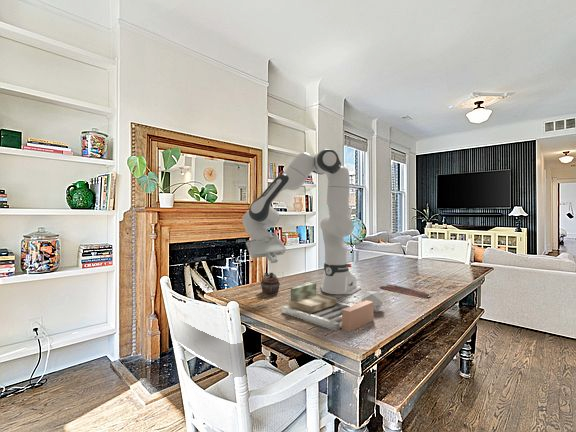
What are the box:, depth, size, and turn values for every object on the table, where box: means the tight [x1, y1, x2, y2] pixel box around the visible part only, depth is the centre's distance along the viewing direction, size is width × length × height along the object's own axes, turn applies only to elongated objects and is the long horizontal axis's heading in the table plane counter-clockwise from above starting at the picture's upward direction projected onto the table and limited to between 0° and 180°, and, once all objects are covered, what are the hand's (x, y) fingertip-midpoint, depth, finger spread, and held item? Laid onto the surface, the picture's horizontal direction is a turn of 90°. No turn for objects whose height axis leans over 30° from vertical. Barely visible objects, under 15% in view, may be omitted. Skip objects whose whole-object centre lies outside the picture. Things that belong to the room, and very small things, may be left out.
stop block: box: [341, 300, 374, 333], centre depth 115 cm, size 16×3×7 cm, turn 135°
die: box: [361, 290, 383, 313], centre depth 131 cm, size 8×9×10 cm
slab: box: [288, 281, 337, 313], centre depth 130 cm, size 16×12×7 cm
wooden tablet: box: [379, 284, 430, 299], centre depth 161 cm, size 26×2×10 cm
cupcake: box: [260, 272, 281, 296], centre depth 158 cm, size 10×10×10 cm
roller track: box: [281, 300, 353, 332], centre depth 126 cm, size 22×27×2 cm
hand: (274, 262), depth 146 cm, fingers closed
